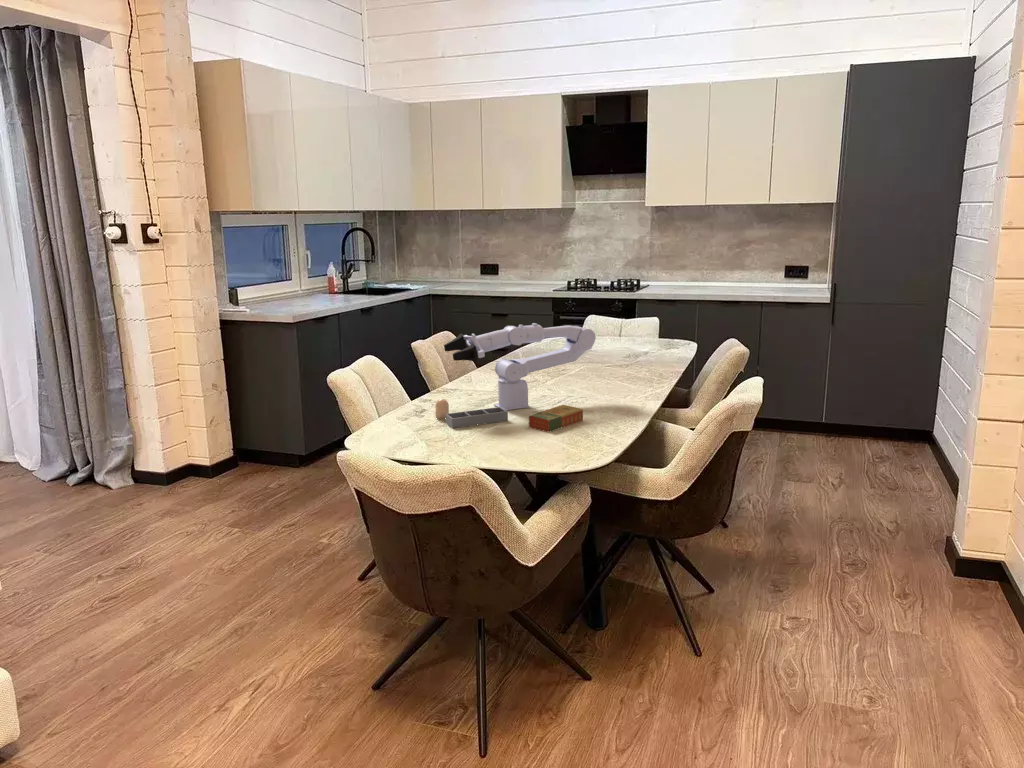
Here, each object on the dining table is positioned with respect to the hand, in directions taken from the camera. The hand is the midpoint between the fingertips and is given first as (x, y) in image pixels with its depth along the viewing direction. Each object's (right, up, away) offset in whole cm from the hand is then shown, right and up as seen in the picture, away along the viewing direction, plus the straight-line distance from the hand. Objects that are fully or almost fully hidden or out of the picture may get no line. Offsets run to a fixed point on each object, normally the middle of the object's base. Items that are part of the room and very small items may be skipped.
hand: (448, 352), depth 236 cm
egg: (-2, -21, +2) cm, 21 cm away
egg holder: (+9, -22, -4) cm, 24 cm away
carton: (+33, -23, -8) cm, 41 cm away
